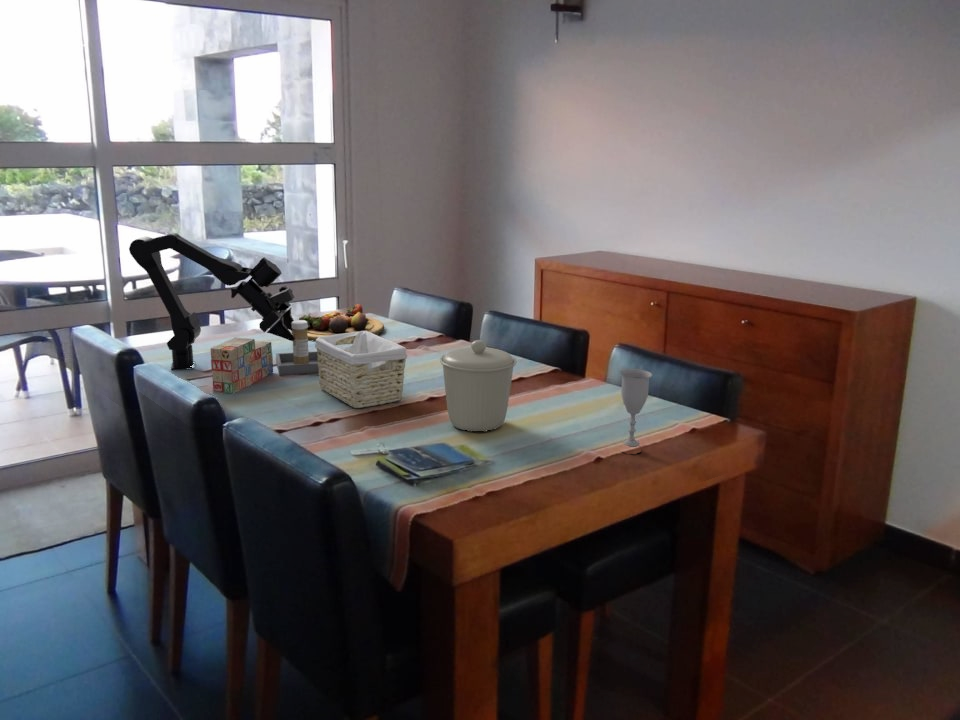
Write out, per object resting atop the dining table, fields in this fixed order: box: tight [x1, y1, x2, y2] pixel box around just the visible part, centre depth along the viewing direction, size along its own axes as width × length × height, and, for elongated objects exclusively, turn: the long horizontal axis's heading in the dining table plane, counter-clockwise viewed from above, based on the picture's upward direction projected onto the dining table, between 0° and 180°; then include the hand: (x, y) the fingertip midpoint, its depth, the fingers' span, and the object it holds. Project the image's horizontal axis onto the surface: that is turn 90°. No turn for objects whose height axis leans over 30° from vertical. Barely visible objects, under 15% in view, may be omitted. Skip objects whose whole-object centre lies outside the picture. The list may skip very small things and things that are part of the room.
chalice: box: [620, 368, 653, 447], centre depth 188 cm, size 7×7×18 cm
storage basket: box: [314, 331, 408, 409], centre depth 224 cm, size 24×16×15 cm
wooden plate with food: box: [290, 303, 385, 342], centre depth 294 cm, size 32×32×8 cm
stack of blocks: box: [210, 337, 274, 394], centre depth 233 cm, size 21×6×12 cm, turn 164°
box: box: [275, 350, 319, 377], centre depth 249 cm, size 14×14×3 cm
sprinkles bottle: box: [292, 319, 309, 364], centre depth 247 cm, size 5×5×14 cm
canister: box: [439, 339, 517, 432], centre depth 201 cm, size 18×18×21 cm
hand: (296, 336), depth 247 cm, fingers open, 9 cm apart
